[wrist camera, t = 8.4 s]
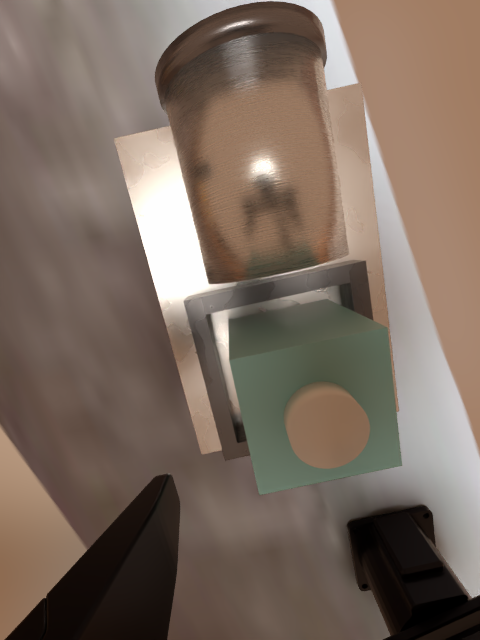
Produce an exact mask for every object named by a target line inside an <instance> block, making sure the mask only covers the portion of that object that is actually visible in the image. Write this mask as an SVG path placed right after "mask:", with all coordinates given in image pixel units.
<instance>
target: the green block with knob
mask: <svg viewBox="0 0 480 640" xmlns="http://www.w3.org/2000/svg"><path fill="white" fill-rule="evenodd" d="M228 329H229V362H230V367H231V371H232V376H233V380H234V385H235V389H236V393H237V398H238V402H239V407H240V411H241V416H242V420H243V425H244V429H245V434H246V438H247V442H248V447H249V451H250V456H251V460H252V465H253V469H254V474H255V478H256V482H257V487H258V491H259V495H263V494H267V493H272V492H277V491H282V490H287V489H292V488H296V487H301V486H306V485H311V484H316V483H321V482H325V481H330V480H335V479H340V478H345V477H350V476H354V475H359V474H364V473H369V472H374V471H379V470H383V469H388V468H393V467H398V466H402V461H401V452H400V442H399V433H398V423H397V413H396V404H395V394H394V384H393V375H392V365H391V355H390V346H389V336H388V327H386V326H384V325H382V324H380V323H377V322H375V321H373V320H371V319H369V318H367V317H365V316H362V315H360V314H358V313H356V312H354V311H352V310H350V309H348V308H345V307H343V306H341V305H339V304H337V303H335V302H333V301H331V300H328V299H324V300H319V301H314V302H309V303H305V304H300V305H295V306H290V307H285V308H281V309H276V310H271V311H266V312H262V313H257V314H252V315H247V316H242V317H238V318H233V319H228Z"/></svg>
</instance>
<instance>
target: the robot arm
mask: <svg viewBox="0 0 480 640" xmlns="http://www.w3.org/2000/svg"><path fill="white" fill-rule="evenodd" d="M179 523H180V500H179V496H178V493H177V490H176V486H175V483H174V480H173V477H172V475H171V474H164V475H159V476H156V477H154V478H153V479H152V481H151V482H150V483H149V484H148V485H147V486H146V487H145V488H144V489H143V490H142V491H141V493H140V494H139V495H138V496H137V497H136V498H135V499H134V500H133V501H132V502H131V503H130V504H129V506H128V507H127V508H126V509H125V510H124V511H123V512H122V513H121V514H120V515H119V516H118V518H117V519H116V520H115V521H114V522H113V523H112V524H111V525H110V526H109V527H108V528H107V530H106V531H105V532H104V533H103V534H102V535H101V536H100V537H99V538H98V539H97V540H96V542H95V543H94V544H93V545H92V546H91V547H90V548H89V549H88V550H87V551H86V552H85V554H84V555H83V556H82V557H81V558H80V559H79V560H78V561H77V562H76V563H75V565H73V567H72V568H71V569H70V570H69V571H68V572H67V573H66V574H65V575H64V576H63V577H62V579H61V580H60V581H59V582H58V583H57V584H56V585H55V586H54V587H53V588H52V589H51V591H50V592H49V593H48V594H47V596H46V598H43V599H42V600H41V601H40V602H39V604H38V605H37V606H36V607H35V608H34V609H33V610H32V611H31V612H30V613H29V614H28V615H27V617H26V618H25V619H24V620H23V621H22V622H21V623H20V624H19V625H18V626H17V627H16V628H15V629H14V630H13V631H12V632H11V634H10V635H9V636H8V637H7V638H6V639H5V640H167V636H168V630H169V623H170V616H171V609H172V603H173V596H174V589H175V583H176V574H177V563H178V543H179ZM347 528H348V534H349V540H350V546H351V552H352V558H353V563H354V569H355V575H356V581H357V584H358V587H359V589H360V590H361V591H368V590H372V592H373V595H374V597H375V600H376V602H377V604H378V607H379V609H380V611H381V614H382V616H383V618H384V621H385V623H386V625H387V628H388V630H389V632H390V635H391V636H390V637H388V638H385V639H383V640H480V595H479V596H477V597H474V598H471V596H470V595H469V593H468V592H467V590H466V589H465V588H464V586H463V585H462V583H461V582H460V581H459V579H458V578H457V576H456V575H455V574H454V572H453V571H452V569H451V568H450V566H449V565H448V564H447V562H446V561H445V559H444V558H443V557H442V555H441V554H440V552H439V551H438V549H437V548H436V546H435V535H434V525H433V515H432V512H431V511H430V510H429V508H428V507H425V506H422V507H417V508H413V509H408V510H403V511H399V512H394V513H389V514H385V515H380V516H376V517H371V518H366V519H362V520H357V521H353V522H350V523H349V524H348V527H347ZM355 528H356V529H355Z"/></svg>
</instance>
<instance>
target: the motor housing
mask: <svg viewBox="0 0 480 640" xmlns="http://www.w3.org/2000/svg"><path fill="white" fill-rule="evenodd" d="M326 59H327V52H326V44H325V37H324V30H323V26H322V23H321V22H320V20H319V19H318V17H317V16H316V15H315V14H314V13H313V12H311V11H310V10H308V9H306V8H304V7H302V6H299V5H296V4H292V3H286V2H274V1H268V2H256V3H250V4H244V5H240V6H237V7H233V8H229V9H226V10H224V11H221V12H219V13H216V14H214V15H212V16H209V17H207V18H205V19H203V20H201V21H200V22H198V23H196V24H195V25H193V26H192V27H190V28H189V29H187V30H186V31H185V32H183V33H182V34H181V35H179V36H178V37H177V38H176V39H175V40H174V41H173V42H172V43H171V44H170V45H169V46H168V48H167V49H166V50H165V51H164V53H163V55H162V56H161V58H160V60H159V62H158V64H157V67H156V72H155V83H156V87H157V91H158V95H159V100H160V103H161V107H162V108H163V110H164V112H165V113H166V114H167V115H168V118H169V122H170V126H168V127H163V128H159V129H154V130H150V131H146V132H141V133H137V134H132V135H128V136H123V137H119V138H115V139H114V141H115V144H116V148H117V152H118V155H119V159H120V162H121V166H122V170H123V173H124V177H125V180H126V184H127V188H128V191H129V195H130V198H131V202H132V205H133V209H134V213H135V216H136V220H137V223H138V227H139V231H140V234H141V238H142V241H143V245H144V249H145V252H146V256H147V259H148V263H149V267H150V270H151V274H152V277H153V281H154V285H155V288H156V292H157V295H158V299H159V303H160V306H161V310H162V313H163V317H164V321H165V324H166V328H167V331H168V335H169V339H170V342H171V346H172V349H173V353H174V356H175V360H176V364H177V367H178V371H179V374H180V378H181V382H182V385H183V389H184V392H185V396H186V400H187V403H188V407H189V410H190V414H191V418H192V421H193V425H194V428H195V432H196V436H197V439H198V443H199V446H200V450H201V454H206V453H211V452H215V451H220V450H222V451H223V455H224V459H225V461H226V460H230V459H235V458H239V457H244V456H249V455H250V451H249V447H248V442H247V438H246V434H245V429H244V425H243V420H242V416H241V411H240V407H239V402H238V398H237V393H236V389H235V385H234V380H233V376H232V371H231V367H230V362H229V329H228V319H233V318H238V317H242V316H247V315H252V314H257V313H262V312H266V311H271V310H276V309H281V308H285V307H290V306H295V305H300V304H305V303H309V302H314V301H319V300H324V299H328V300H331V301H333V302H335V303H337V304H339V305H341V306H343V307H345V308H348V309H350V310H352V311H354V312H356V313H358V314H360V315H362V316H365V317H367V318H369V319H371V320H373V321H375V322H377V323H380V324H382V325H384V326H386V327H388V336H389V346H390V355H391V365H392V375H393V384H394V394H395V404H396V412H398V411H399V407H398V398H397V390H396V381H395V372H394V364H393V355H392V346H391V338H390V329H389V320H388V312H387V303H386V294H385V286H384V277H383V268H382V259H381V251H380V242H379V233H378V225H377V216H376V207H375V199H374V190H373V181H372V173H371V164H370V155H369V147H368V138H367V129H366V121H365V112H364V103H363V95H362V87H361V83H358V84H353V85H349V86H344V87H340V88H336V89H331V90H327V89H326V82H325V74H324V67H325V64H326Z"/></svg>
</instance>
